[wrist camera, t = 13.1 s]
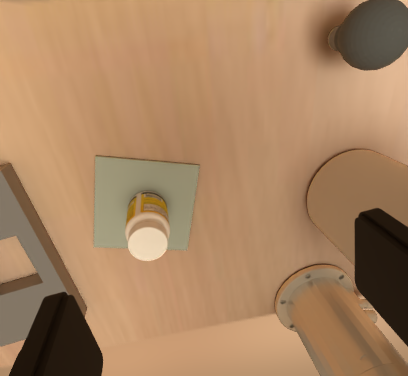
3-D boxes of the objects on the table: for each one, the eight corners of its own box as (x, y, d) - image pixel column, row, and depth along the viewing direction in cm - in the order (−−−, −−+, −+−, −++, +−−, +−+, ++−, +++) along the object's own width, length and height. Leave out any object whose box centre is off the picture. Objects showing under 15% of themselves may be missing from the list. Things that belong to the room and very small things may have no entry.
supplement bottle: (138, 229, 40) (135, 271, 33) (121, 199, 38) (114, 235, 31) (173, 215, 40) (178, 253, 33) (158, 184, 38) (160, 216, 31)
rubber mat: (199, 164, 39) (199, 165, 38) (186, 248, 43) (187, 250, 43) (96, 155, 36) (95, 156, 36) (94, 245, 41) (93, 247, 40)
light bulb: (350, 70, 37) (416, 75, 28) (302, 64, 36) (354, 68, 27) (365, 12, 35) (442, -3, 26) (315, 3, 34) (376, -15, 25)
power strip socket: (-90, 190, 35) (-112, 202, 32) (10, 162, 35) (-2, 172, 32) (8, 331, 44) (-2, 350, 41) (86, 307, 44) (82, 325, 41)
